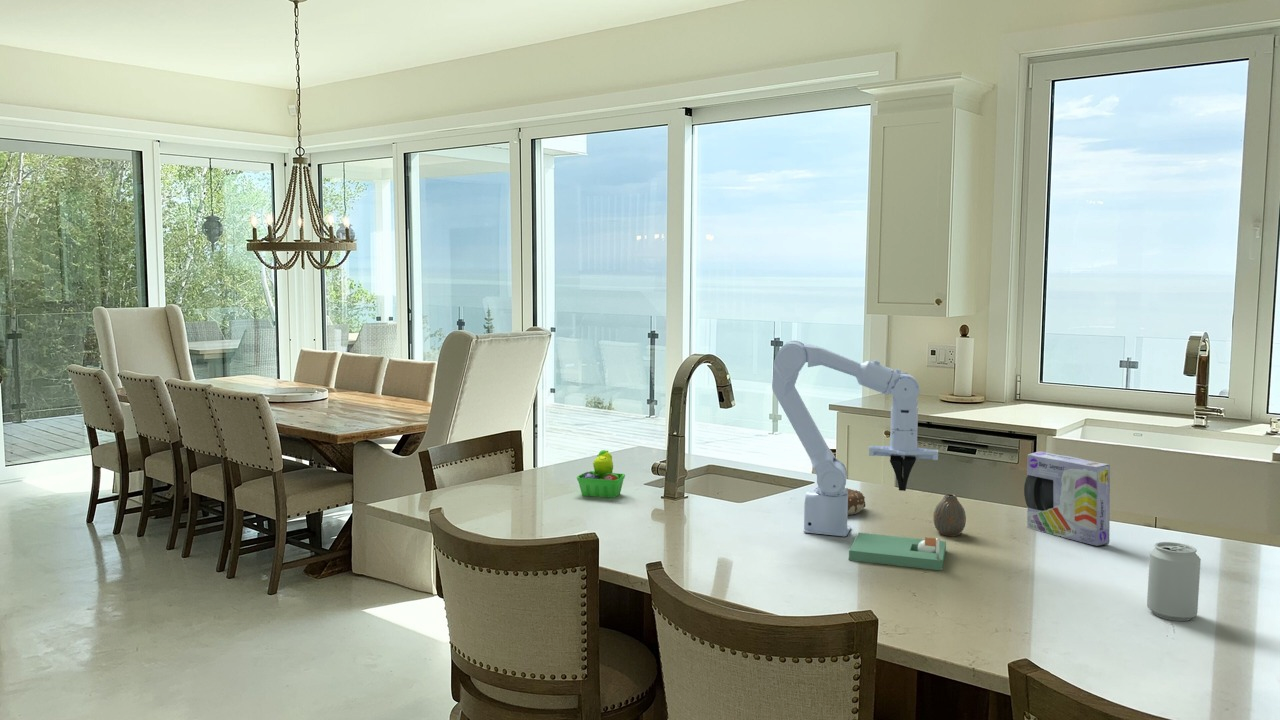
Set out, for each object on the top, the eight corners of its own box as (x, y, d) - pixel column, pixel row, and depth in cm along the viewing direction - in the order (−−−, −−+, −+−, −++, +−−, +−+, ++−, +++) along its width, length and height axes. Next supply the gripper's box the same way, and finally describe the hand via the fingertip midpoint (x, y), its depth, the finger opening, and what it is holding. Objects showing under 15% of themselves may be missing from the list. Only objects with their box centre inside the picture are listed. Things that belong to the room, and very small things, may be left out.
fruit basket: (575, 496, 241) (575, 453, 239) (587, 489, 249) (587, 447, 248) (617, 499, 237) (617, 456, 236) (627, 492, 246) (627, 450, 245)
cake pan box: (1020, 526, 213) (1024, 451, 212) (1035, 523, 216) (1039, 449, 214) (1095, 548, 196) (1099, 466, 195) (1110, 545, 199) (1115, 464, 197)
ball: (927, 562, 187) (913, 550, 188) (927, 558, 190) (914, 546, 191) (939, 549, 186) (925, 537, 187) (939, 546, 190) (925, 534, 191)
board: (848, 559, 188) (849, 550, 187) (858, 541, 201) (858, 532, 200) (941, 570, 181) (942, 560, 181) (945, 550, 194) (946, 541, 194)
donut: (867, 519, 220) (868, 498, 219) (809, 516, 222) (809, 496, 222) (862, 504, 234) (863, 485, 233) (807, 502, 236) (808, 482, 236)
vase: (967, 538, 203) (968, 499, 202) (934, 536, 205) (936, 498, 204) (963, 530, 210) (964, 492, 209) (931, 528, 211) (932, 490, 210)
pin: (924, 567, 183) (925, 537, 182) (924, 566, 184) (925, 536, 183) (938, 569, 182) (939, 539, 181) (938, 568, 183) (939, 538, 182)
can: (1137, 607, 162) (1140, 540, 161) (1177, 606, 162) (1181, 539, 161) (1164, 623, 154) (1169, 553, 153) (1207, 622, 155) (1211, 552, 154)
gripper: (867, 429, 202) (866, 491, 203) (937, 433, 197) (935, 496, 198) (871, 424, 208) (870, 484, 210) (939, 428, 203) (937, 489, 204)
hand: (902, 489), depth 204 cm, fingers closed
